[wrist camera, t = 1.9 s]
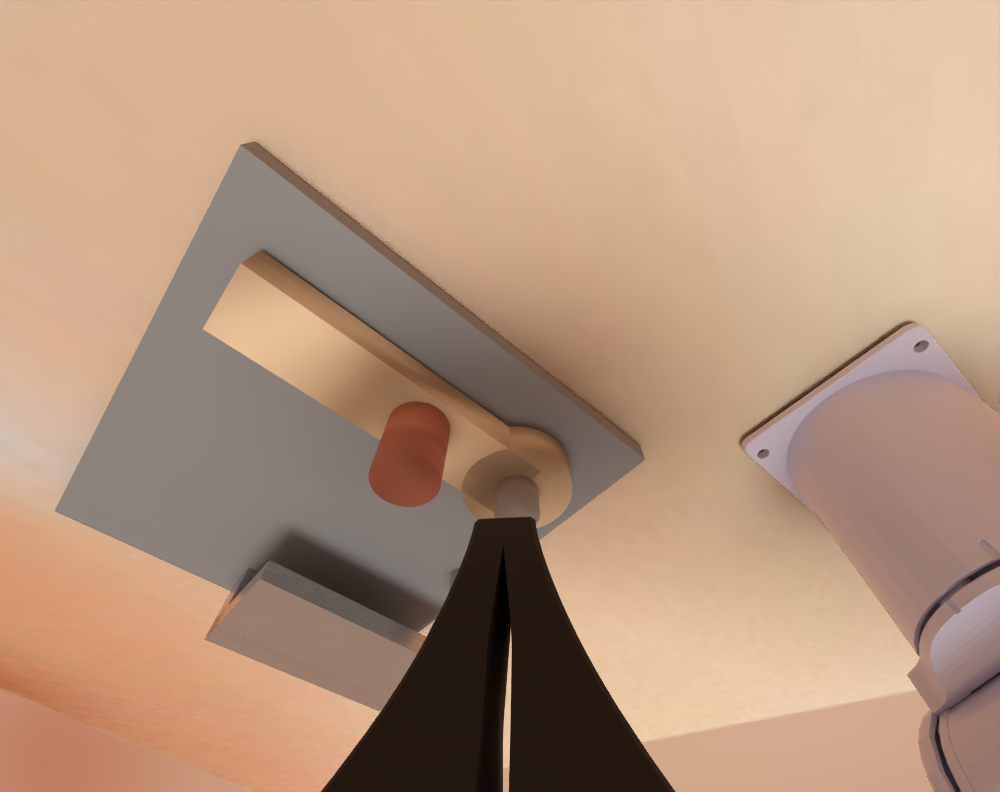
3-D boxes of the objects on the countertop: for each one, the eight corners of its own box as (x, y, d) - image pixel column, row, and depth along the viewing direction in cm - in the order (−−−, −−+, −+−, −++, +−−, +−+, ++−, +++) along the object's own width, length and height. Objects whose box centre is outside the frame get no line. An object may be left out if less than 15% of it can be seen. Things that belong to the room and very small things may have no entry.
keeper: (452, 591, 28) (444, 665, 25) (394, 637, 31) (378, 710, 27) (296, 507, 25) (259, 578, 21) (245, 566, 27) (204, 639, 24)
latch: (590, 465, 22) (607, 545, 18) (520, 521, 23) (522, 604, 20) (271, 231, 16) (199, 274, 13) (215, 327, 18) (138, 389, 15)
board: (639, 445, 22) (662, 508, 19) (385, 643, 31) (370, 712, 28) (255, 141, 16) (186, 155, 13) (70, 496, 25) (0, 561, 21)
